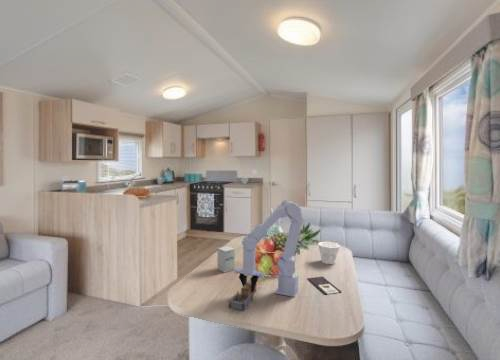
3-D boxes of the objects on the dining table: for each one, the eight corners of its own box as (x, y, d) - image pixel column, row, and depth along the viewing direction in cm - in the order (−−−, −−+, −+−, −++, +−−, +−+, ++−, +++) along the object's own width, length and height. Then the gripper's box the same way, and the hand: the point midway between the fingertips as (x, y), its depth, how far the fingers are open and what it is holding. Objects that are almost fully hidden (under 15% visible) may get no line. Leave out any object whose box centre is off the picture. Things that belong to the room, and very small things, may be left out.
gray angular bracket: (253, 300, 130) (253, 294, 129) (245, 311, 121) (245, 304, 120) (237, 297, 133) (237, 291, 133) (227, 307, 124) (227, 300, 124)
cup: (336, 267, 170) (336, 248, 169) (315, 263, 176) (316, 245, 175) (340, 260, 181) (341, 243, 180) (321, 257, 187) (321, 240, 186)
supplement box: (224, 273, 160) (224, 251, 159) (217, 269, 166) (217, 247, 165) (235, 270, 165) (235, 248, 164) (227, 266, 171) (227, 245, 170)
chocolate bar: (322, 276, 155) (341, 291, 138) (322, 278, 155) (341, 293, 138) (307, 278, 153) (324, 293, 136) (307, 280, 153) (324, 295, 136)
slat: (249, 289, 140) (249, 279, 140) (256, 291, 139) (256, 281, 139) (241, 298, 131) (241, 288, 131) (248, 300, 130) (248, 289, 129)
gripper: (231, 262, 133) (231, 290, 134) (260, 267, 127) (260, 296, 129) (237, 257, 139) (237, 284, 141) (265, 262, 134) (265, 290, 135)
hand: (249, 290), depth 135 cm, fingers closed on slat, 3 cm apart
